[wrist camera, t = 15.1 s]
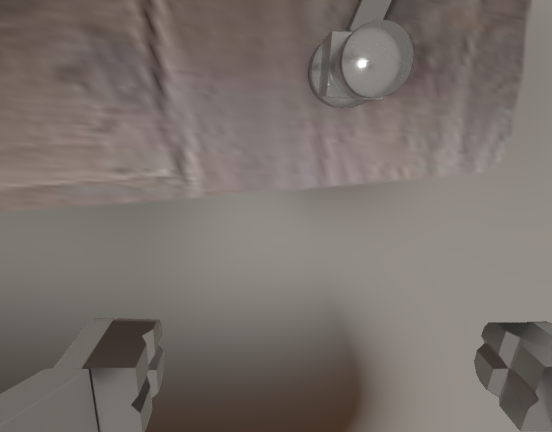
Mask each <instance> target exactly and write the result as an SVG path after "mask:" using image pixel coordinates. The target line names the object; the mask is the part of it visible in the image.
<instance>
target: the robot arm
mask: <svg viewBox="0 0 552 432" xmlns="http://www.w3.org/2000/svg"><path fill="white" fill-rule="evenodd" d="M161 337H162V325H161V322H160V320H157V319H156V320H155V319H123V318H117V319H114V318H94V319H92V320H90V321H89V322H88V323H87V324H86V326H85V327H84V328H83V330H82V331H81V333H80V334H79V335H78V336H77V338H76V339H75V340H74V341H73V343H72V344H71V345H70V347H69V348H68V349H67V351H66V352H65V353H64V355H63V356H62V357H61V359H60V360H59V361H58V363H57V364H56V365H55V366H54V368H53V369H44V370H43V371H41V372H39V373H37V374H35V375H34V376H32V377H30V378H29V379H27V380H25V381H23V382H21V383H20V384H18V385H16V386H14V387H13V388H11V389H9V390H7V391H5V392H4V393H2V394H0V432H145V430H146V426H147V424H148V421H149V418H150V415H151V412H152V402H151V398H152V397H153V396H155V395H156V394H157V393H158V391H159V387H160V384H161V380H162V374H163V368H164V350H163V349H162V348H161V347H160V346H159V342H160V340H161ZM482 338H483V340H484V342H485V343H484V344H483V345H482V346H481V347H480V348H479V349H478V350H477V352H476V356H475V360H474V362H475V369H476V374H477V376H478V378H479V380H480V382H481V383H482V384H483V386H484V387H485V388H486V390H488V391H489V392H491V393H492V394H494V395H496V396H497V397H499V405H500V407H501V408H502V409H503V411H504V412H505V413H506V414H507V415H508V417H509V418H510V419H511V421H512V422H513V423H514V424H515V425H516V427H517V428H518V429H519V430H520V431H538V432H541V431H542V432H545V431H546V432H552V323H550V322H546V321H543V322H524V323H523V322H520V323H518V322H516V323H515V322H512V323H509V322H508V323H507V322H503V323H502V322H501V323H497V322H493V323H492V322H491V323H488V324H487V325H486V326H485V327H484V329H483V332H482Z"/></svg>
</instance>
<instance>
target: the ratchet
mask: <svg viewBox="0 0 552 432" xmlns="http://www.w3.org/2000/svg"><path fill="white" fill-rule="evenodd" d="M391 1H392V0H359V2H358V4H357V6H356V9H355V11H354V13H353V16H352V18H351V20H350V22H349V25H348V27H347V29H346V31H341V32H351V33H353V32H354V31H355V30H356V29H357V28H359V27H360V26H362V25H363V24H366V23H368V22H371V21H375V20H383V18H384V16H385V14H386V12H387V10H388V7H389V5H390V3H391ZM322 49H323V43H322V44H321V45H320V46H319V47H318V48H317V49H316V50H315V52H314V53H313V55H312V57H311V60H310V63H309V68H308V79H309V84H310V87H311V89H312V91H313V93H314V94H315V96H316V97H317V98H318V99H319V100H320V101H322V102H323V103H325V104H326V105H329V106H332V107H341V108H348V107H354V106H356V105H359V104H361V103H363V102H364V101H366V100H360V99H343V98H325V97H318V94H319V83H320V72H321V60H322Z"/></svg>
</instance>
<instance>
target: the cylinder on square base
mask: <svg viewBox="0 0 552 432" xmlns="http://www.w3.org/2000/svg"><path fill="white" fill-rule="evenodd" d="M412 64H413V46H412V42H411V40H410V37H409V36H408V34H407V32H406V31H405V30H404V29H403V28H402V27H401V26H400V25H398V24H396V23H394V22H392V21H389V20H375V21H371V22H368V23H366V24H363V25H362V26H360V27H359V28H357V29H356V30H355V31H354V32H353V33H351V32H338V31H332V32H331V33H330V34H329V35H328V36H327V37H325V38H324V39H323V49H322V60H321V72H320V83H319V94H318V97H325V98H343V99H360V100H383V97H384V96H387V95H389V94H391V93H393V92H394V91H396V90H397V89H398V88H399V87H400V86H401V85H402V84H403V83H404V82H405V81H406V79H407V77H408V75H409V73H410V71H411V68H412Z"/></svg>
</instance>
